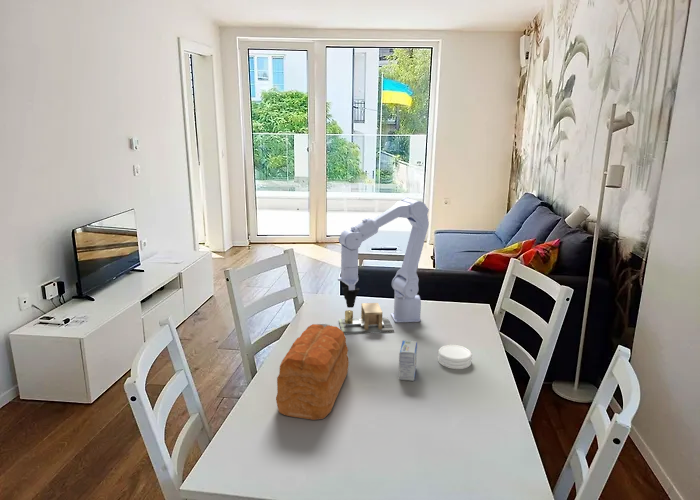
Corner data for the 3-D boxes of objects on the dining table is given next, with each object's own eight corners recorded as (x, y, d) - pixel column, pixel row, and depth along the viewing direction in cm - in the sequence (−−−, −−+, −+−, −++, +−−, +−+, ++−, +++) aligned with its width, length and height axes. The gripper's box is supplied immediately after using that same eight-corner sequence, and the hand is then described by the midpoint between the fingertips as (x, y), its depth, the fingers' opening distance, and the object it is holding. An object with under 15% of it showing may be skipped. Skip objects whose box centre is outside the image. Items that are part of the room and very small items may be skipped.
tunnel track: (387, 319, 177) (388, 301, 175) (393, 332, 166) (394, 313, 165) (338, 321, 175) (338, 303, 173) (341, 334, 164) (342, 314, 162)
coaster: (457, 373, 140) (457, 362, 139) (430, 360, 147) (431, 350, 146) (478, 363, 146) (479, 352, 145) (451, 351, 153) (452, 341, 152)
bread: (350, 369, 141) (351, 321, 137) (327, 423, 116) (327, 366, 112) (304, 364, 144) (304, 316, 140) (272, 415, 119) (270, 359, 115)
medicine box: (414, 381, 135) (415, 353, 132) (398, 379, 136) (399, 351, 133) (416, 368, 142) (417, 341, 140) (400, 366, 143) (402, 339, 141)
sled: (381, 319, 174) (381, 307, 173) (383, 325, 168) (384, 313, 167) (344, 320, 172) (344, 308, 171) (345, 327, 167) (345, 314, 166)
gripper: (335, 259, 171) (335, 296, 174) (339, 272, 157) (339, 311, 160) (355, 259, 171) (355, 295, 175) (361, 271, 158) (360, 310, 161)
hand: (349, 303), depth 168 cm, fingers open, 7 cm apart
